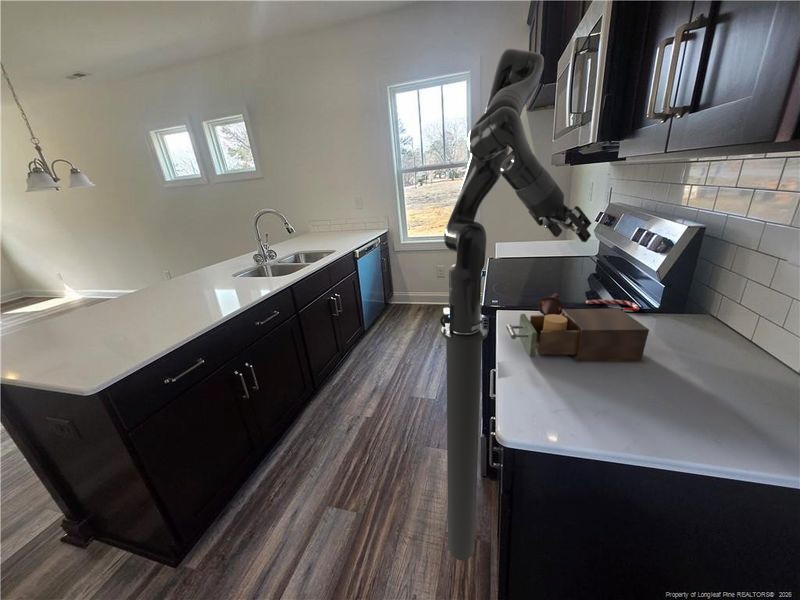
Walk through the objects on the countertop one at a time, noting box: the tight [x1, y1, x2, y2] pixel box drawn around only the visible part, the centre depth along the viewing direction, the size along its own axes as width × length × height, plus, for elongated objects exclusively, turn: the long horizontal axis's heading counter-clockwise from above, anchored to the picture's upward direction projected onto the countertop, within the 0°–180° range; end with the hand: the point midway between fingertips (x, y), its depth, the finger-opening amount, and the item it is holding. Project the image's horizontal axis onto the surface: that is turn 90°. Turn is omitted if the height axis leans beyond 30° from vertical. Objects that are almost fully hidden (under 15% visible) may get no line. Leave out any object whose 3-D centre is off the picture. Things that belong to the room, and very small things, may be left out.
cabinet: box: [561, 307, 650, 362], centre depth 81 cm, size 15×13×9 cm
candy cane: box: [585, 299, 640, 313], centre depth 106 cm, size 8×1×15 cm
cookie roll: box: [543, 314, 567, 331], centre depth 80 cm, size 5×5×8 cm
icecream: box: [537, 293, 564, 315], centre depth 101 cm, size 7×7×15 cm
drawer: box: [505, 313, 580, 358], centre depth 83 cm, size 18×11×7 cm, turn 84°
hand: (572, 236), depth 77 cm, fingers open, 8 cm apart
